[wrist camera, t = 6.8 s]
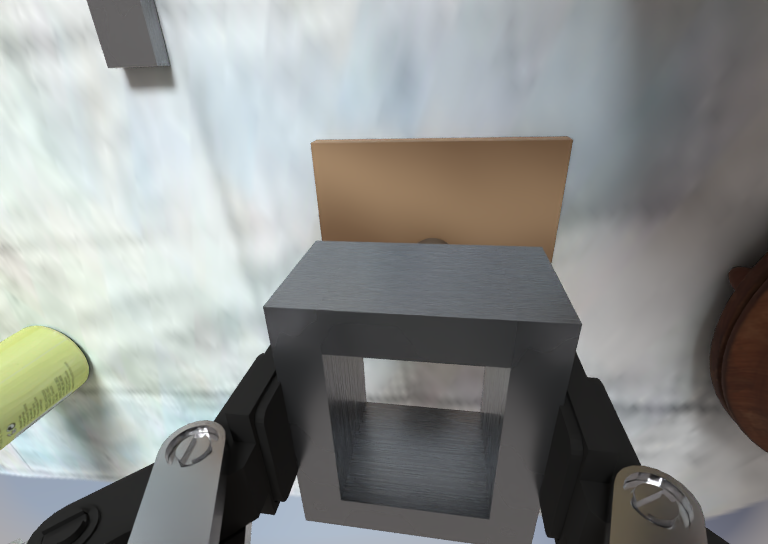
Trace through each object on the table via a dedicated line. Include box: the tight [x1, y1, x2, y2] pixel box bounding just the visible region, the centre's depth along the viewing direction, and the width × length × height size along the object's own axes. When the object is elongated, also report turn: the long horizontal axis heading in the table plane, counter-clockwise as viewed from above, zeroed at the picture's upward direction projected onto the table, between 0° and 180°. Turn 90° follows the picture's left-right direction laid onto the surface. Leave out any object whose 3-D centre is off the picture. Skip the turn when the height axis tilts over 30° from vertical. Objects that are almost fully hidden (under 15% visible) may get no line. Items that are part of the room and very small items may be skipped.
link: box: [263, 241, 582, 544], centre depth 11 cm, size 7×6×4 cm
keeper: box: [311, 136, 573, 263], centre depth 16 cm, size 10×10×5 cm
